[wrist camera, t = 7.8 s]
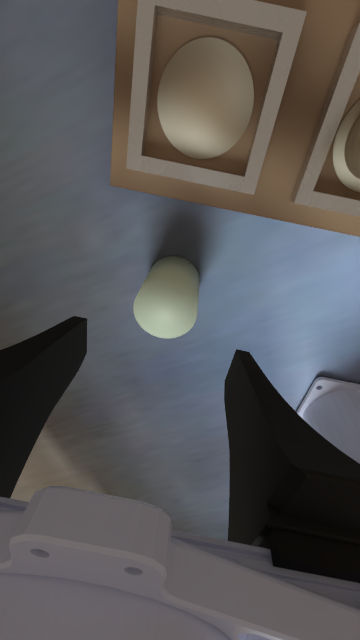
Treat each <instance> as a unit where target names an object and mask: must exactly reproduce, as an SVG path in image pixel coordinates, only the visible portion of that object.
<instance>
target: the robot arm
mask: <svg viewBox="0 0 360 640" xmlns="http://www.w3.org/2000/svg"><path fill="white" fill-rule="evenodd" d="M86 353H87V319H86V318H81V317H76V316H73V317H71V318H69V319H67V320H65V321H63V322H61V323H60V324H58V325H56V326H54V327H52V328H50V329H48V330H46V331H44V332H42V333H40V334H38V335H36V336H33V337H31V338H29V339H27V340H25V341H22V342H20V343H18V344H15V345H13V346H10V347H8V348H5V349H2V350H0V640H360V384H356V383H351V382H346V381H341V380H336V379H331V378H326V377H318V378H316V379H315V381H314V382H313V384H312V386H311V388H310V389H309V391H308V393H307V395H306V396H305V398H304V400H303V402H302V403H301V405H300V407H299V408H298V410H297V412H295V411H294V410H293V408H292V407H291V406H290V405H289V404H288V403H287V402H286V401H285V400H284V399H283V398H282V396H281V395H280V394H279V393H278V391H277V390H276V389H275V388H274V387H273V385H272V384H271V383H270V381H269V380H268V379H267V377H266V376H265V374H264V373H263V372H262V370H261V369H260V367H259V366H258V364H257V363H256V361H255V360H254V359H253V357H252V356H251V354H250V353H249V352H246V351H242V350H237V349H236V352H235V354H234V357H233V360H232V363H231V366H230V368H229V371H228V374H227V377H226V379H225V392H224V401H225V411H226V420H227V429H228V438H229V450H230V498H229V528H228V541H226V540H220V539H215V538H210V537H205V536H200V535H195V534H190V533H184V532H179V531H174V530H172V525H171V519H170V517H169V516H168V515H167V514H166V513H165V512H164V511H162V510H161V509H160V508H159V507H157V506H154V505H151V504H148V503H145V502H142V501H137V500H131V499H126V498H121V497H116V496H111V495H106V494H101V493H96V492H91V491H86V490H80V489H75V488H70V487H62V486H49V487H46V488H43V489H41V490H38V491H36V492H35V493H34V494H33V496H32V498H31V500H30V502H25V501H20V500H15V499H10V497H11V495H12V492H13V490H14V488H15V485H16V483H17V481H18V479H19V476H20V474H21V472H22V470H23V468H24V466H25V463H26V461H27V459H28V457H29V455H30V453H31V451H32V449H33V447H34V445H35V442H36V440H37V438H38V436H39V434H40V432H41V430H42V429H43V427H44V425H45V423H46V421H47V419H48V417H49V415H50V413H51V412H52V410H53V408H54V407H55V405H56V404H57V402H58V401H59V399H60V398H61V396H62V395H63V393H64V392H65V390H66V389H67V387H68V386H69V384H70V383H71V381H72V379H73V378H74V376H75V375H76V373H77V372H78V370H79V368H80V366H81V364H82V362H83V360H84V357H85V355H86ZM317 386H319V387H317Z"/></svg>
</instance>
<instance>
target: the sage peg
mask: <svg viewBox="0 0 360 640" xmlns="http://www.w3.org/2000/svg"><path fill="white" fill-rule="evenodd" d="M199 283H200V280H199V274H198V272H197V270H196V268H195V267H194V265H193V264H192V263H191V262H189V261H188V260H186V259H184V258H182V257H178V256H168V257H164V258H162V259H160V260H158V261H157V262H156V263H155V264H154V265H153V266H152V268H151V270H150V272H149V273H148V275H147V277H146V279H145V281H144V283H143V285H142V287H141V289H140V291H139V292H138V294H137V296H136V298H135V301H134V315H135V318H136V320H137V322H138V323H139V325H140V326H141V327H142V328H143V329H144V330H145V331H146V332H148V333H150V334H151V335H154V336H156V337H160V338H175V337H179V336H181V335H183V334H185V333H187V332H188V331H189V330H190V329H191V328H192V327H193V325H194V323H195V321H196V318H197V310H198V296H199Z"/></svg>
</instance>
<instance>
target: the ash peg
mask: <svg viewBox="0 0 360 640" xmlns="http://www.w3.org/2000/svg"><path fill="white" fill-rule="evenodd" d="M344 157H345V162H346V165H347V168H348V169H349V171H350V172H351V173H352V175H353V176H355V177H356V178H358V179H360V115H359V117H358V118H357V119H356V121H355V122H354V124H353V125H352V127H351V129H350V131H349V133H348V136H347V139H346V143H345V149H344Z"/></svg>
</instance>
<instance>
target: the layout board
mask: <svg viewBox="0 0 360 640" xmlns="http://www.w3.org/2000/svg"><path fill="white" fill-rule="evenodd" d="M359 115H360V0H118V17H117V40H116V64H115V87H114V110H113V133H112V156H111V179H110V185H111V186H116V187H121V188H126V189H131V190H135V191H140V192H145V193H150V194H155V195H160V196H165V197H169V198H174V199H179V200H184V201H189V202H194V203H199V204H203V205H208V206H213V207H218V208H223V209H228V210H233V211H237V212H242V213H247V214H252V215H257V216H262V217H266V218H271V219H276V220H281V221H286V222H291V223H296V224H300V225H305V226H310V227H315V228H320V229H325V230H330V231H334V232H339V233H344V234H349V235H354V236H359V237H360V179H358V178H356V177H355V176H353V175H352V173H351V172H350V171H349V169H348V168H347V165H346V162H345V157H344V149H345V143H346V139H347V136H348V133H349V131H350V129H351V127H352V125H353V124H354V122H355V121H356V119H357V118H358V117H359Z"/></svg>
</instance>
